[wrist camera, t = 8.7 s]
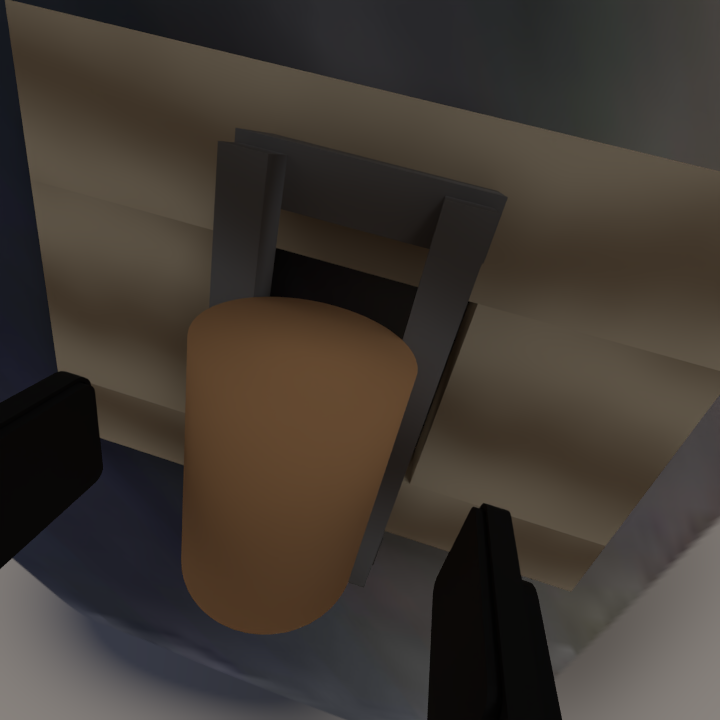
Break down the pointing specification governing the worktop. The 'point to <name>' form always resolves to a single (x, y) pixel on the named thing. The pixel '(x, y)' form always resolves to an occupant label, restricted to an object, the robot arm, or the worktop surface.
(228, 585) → the tan cylinder
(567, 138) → the wooden plate
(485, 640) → the robot arm
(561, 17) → the worktop surface
